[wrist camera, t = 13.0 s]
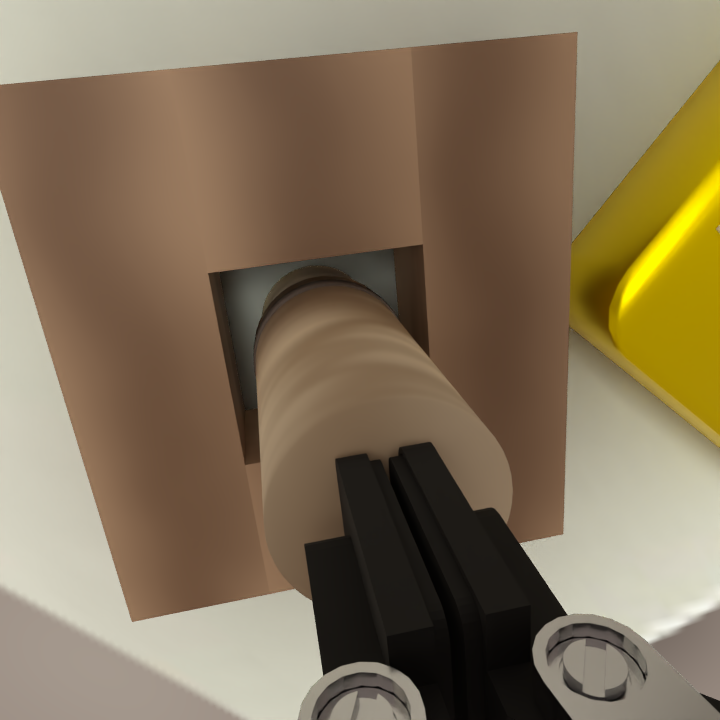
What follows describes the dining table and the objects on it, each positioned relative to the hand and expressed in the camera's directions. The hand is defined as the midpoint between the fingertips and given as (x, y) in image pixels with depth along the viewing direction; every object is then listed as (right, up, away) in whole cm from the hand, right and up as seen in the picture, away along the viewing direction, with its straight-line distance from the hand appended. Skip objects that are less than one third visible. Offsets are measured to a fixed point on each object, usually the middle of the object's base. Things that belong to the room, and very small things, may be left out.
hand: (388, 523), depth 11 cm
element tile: (+16, +7, +14) cm, 23 cm away
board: (-2, +4, +11) cm, 12 cm away
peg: (-2, +4, +11) cm, 12 cm away
